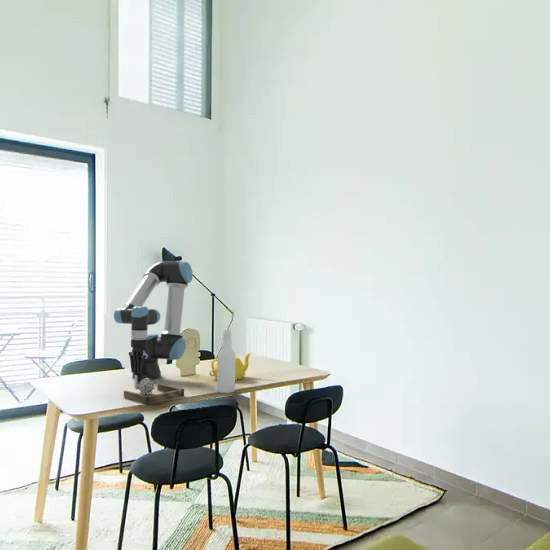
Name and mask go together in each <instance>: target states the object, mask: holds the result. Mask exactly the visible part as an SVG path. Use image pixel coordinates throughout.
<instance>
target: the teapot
mask: <svg viewBox="0 0 550 550" xmlns="http://www.w3.org/2000/svg"><path fill="white" fill-rule="evenodd" d="M251 355H252V352H249V353H247V354H246V355H245V357H244V360H243V361H244V362H242V360H241V359H240V357H239V356H236V363H235V380H236V379H241V378H242V379H243V378H244V377H245V376H246V371H247V370H248V369H249V358H250V356H251ZM215 362H216V363H215ZM210 363H211V364H210V366H211V371H210V372H209V376H210V377H214V378H215V379H216V380H217V365H218V358H215V359H213V360H212V361H211V362H210ZM214 364H215V365H214ZM242 379H241V380H242ZM236 381H237V380H236Z"/></svg>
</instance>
